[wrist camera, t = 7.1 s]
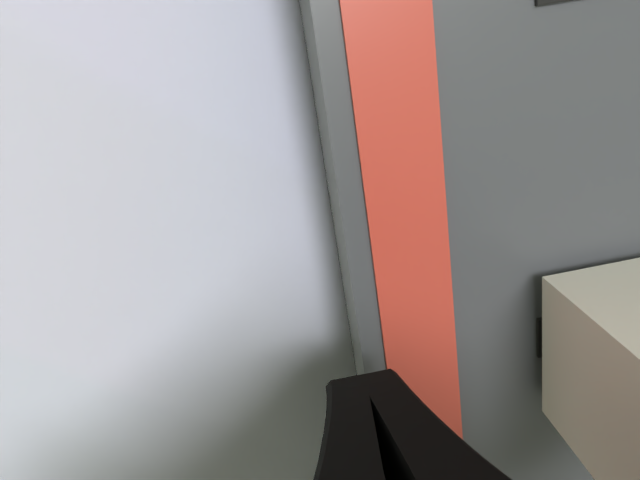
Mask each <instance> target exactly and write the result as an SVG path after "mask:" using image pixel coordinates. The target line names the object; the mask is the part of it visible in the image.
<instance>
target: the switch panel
mask: <svg viewBox="0 0 640 480" xmlns="http://www.w3.org/2000/svg"><path fill="white" fill-rule="evenodd" d="M299 2H300V9H301V15H302V22H303V28H304V35H305V41H306V48H307V54H308V61H309V67H310V74H311V80H312V87H313V93H314V100H315V106H316V113H317V119H318V126H319V132H320V139H321V145H322V152H323V158H324V165H325V171H326V178H327V184H328V191H329V197H330V204H331V210H332V217H333V223H334V230H335V236H336V243H337V249H338V255H339V262H340V268H341V275H342V281H343V288H344V294H345V301H346V307H347V314H348V320H349V327H350V333H351V340H352V346H353V353H354V359H355V366H356V372H357V375H361V374H366V373H371V372H376V371H381V370H386V369H392V370H394V371H395V372H397V374H398V375H399V376H400V377H401V379H402V380H403V381H404V382H405V383H406V384H407V385H408V387H409V388H410V389H411V390H412V391H413V392H414V393H415V394H416V395H417V396H418V397H419V398H420V400H421V401H422V402H423V403H424V404H425V405H426V406H427V407H428V408H429V409H430V410H431V411H432V412H433V413H434V414H435V415H436V416H437V417H438V418H440V419H441V420H442V421H443V422H444V423H445V424H446V425H447V426H448V427H449V428H450V429H451V430H453V431H454V432H455V433H456V434H457V435H458V436H459V437H460V438H461V439H462V440H464V441H465V442H466V443H467V444H468V445H469V446H471V447H472V448H473V449H474V450H475V451H477V452H478V453H479V454H480V455H481V456H483V457H484V458H485V459H486V460H488V461H489V462H490V463H491V464H493V465H494V466H495V467H496V468H498V469H499V470H500V471H502V472H503V473H504V474H505V475H507V476H508V477H510V478H511V479H512V480H595V479H594V478H593V477H592V475H591V474H590V473H589V472H588V470H587V469H586V468H585V466H584V465H583V464H582V462H581V461H580V460H579V458H578V457H577V456H576V455H575V453H574V452H573V451H572V449H571V448H570V447H569V445H568V444H567V443H566V441H565V440H564V439H563V438H562V436H561V435H560V434H559V432H558V431H557V430H556V428H555V427H554V426H553V424H552V423H551V422H550V421H549V419H548V418H547V417H546V415H545V414H544V413H543V411H542V277H543V276H548V275H553V274H559V273H564V272H569V271H574V270H579V269H584V268H589V267H594V266H599V265H604V264H609V263H615V262H620V261H625V260H630V259H635V258H640V0H299Z"/></svg>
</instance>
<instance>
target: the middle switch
mask: <svg viewBox="0 0 640 480" xmlns="http://www.w3.org/2000/svg"><path fill="white" fill-rule="evenodd" d="M542 411H543V413H544V414H545V415H546V417H547V418H548V419H549V421H550V422H551V423H552V424H553V426H554V427H555V428H556V430H557V431H558V432H559V434H560V435H561V436H562V438H563V439H564V440H565V441H566V443H567V444H568V445H569V447H570V448H571V449H572V451H573V452H574V453H575V455H576V456H577V457H578V458H579V460H580V461H581V462H582V464H583V465H584V466H585V468H586V469H587V470H588V472H589V473H590V474H591V475H592V477H593V478H594V479H595V480H640V258H635V259H630V260H625V261H620V262H615V263H609V264H604V265H599V266H594V267H589V268H584V269H579V270H574V271H569V272H564V273H559V274H553V275H548V276H543V277H542Z"/></svg>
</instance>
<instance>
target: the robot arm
mask: <svg viewBox="0 0 640 480" xmlns="http://www.w3.org/2000/svg"><path fill="white" fill-rule="evenodd" d="M326 392H327V410H326V420H325V428H324V434H323V439H322V445H321V450H320V455H319V460H318V464H317V468H316V472H315V476H314V480H512V479H511V478H510V477H508V476H507V475H505V474H504V473H503V472H502V471H500V470H499V469H498V468H496V467H495V466H494V465H493V464H491V463H490V462H489V461H488V460H486V459H485V458H484V457H483V456H481V455H480V454H479V453H478V452H477V451H475V450H474V449H473V448H472V447H471V446H469V445H468V444H467V443H466V442H465V441H464V440H462V439H461V438H460V437H459V436H458V435H457V434H456V433H455V432H454V431H453V430H451V429H450V428H449V427H448V426H447V425H446V424H445V423H444V422H443V421H442V420H441V419H440V418H438V417H437V416H436V415H435V414H434V413H433V412H432V411H431V410H430V409H429V408H428V407H427V406H426V405H425V404H424V403H423V402H422V401H421V400H420V398H419V397H418V396H417V395H416V394H415V393H414V392H413V391H412V390H411V389H410V388H409V387H408V385H407V384H406V383H405V382H404V381H403V380H402V379H401V377H400V376H399V375H398V374H397V372H395V371H394V370H392V369H386V370H381V371H376V372H371V373H366V374H361V375H356V376H351V377H346V378H342V379H337V380H332V381H330V382H329V383H328V385H327V386H326Z"/></svg>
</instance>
